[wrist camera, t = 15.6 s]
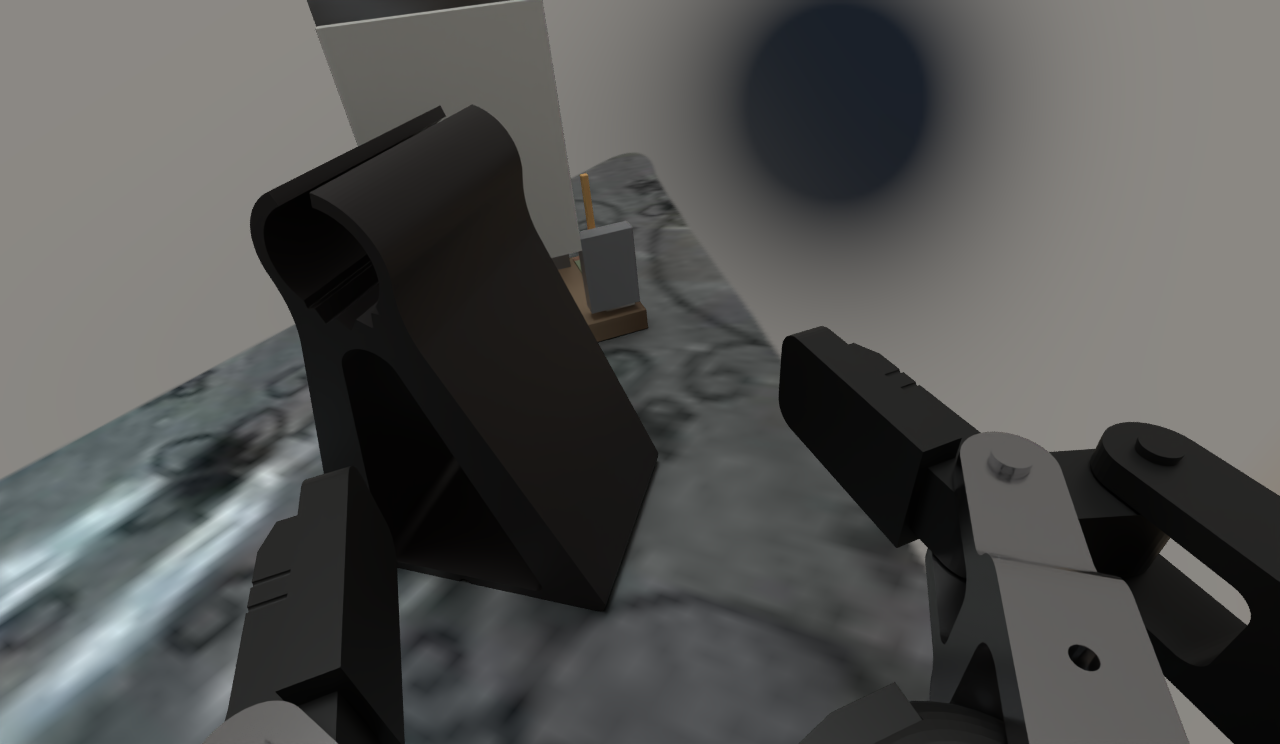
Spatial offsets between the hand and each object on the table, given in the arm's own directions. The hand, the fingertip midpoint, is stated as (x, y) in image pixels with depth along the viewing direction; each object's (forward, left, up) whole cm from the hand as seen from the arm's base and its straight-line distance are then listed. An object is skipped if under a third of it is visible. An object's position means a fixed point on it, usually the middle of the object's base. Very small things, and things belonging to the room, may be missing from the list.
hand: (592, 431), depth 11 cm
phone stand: (-2, +6, -8) cm, 10 cm away
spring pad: (+1, +15, -6) cm, 16 cm away
